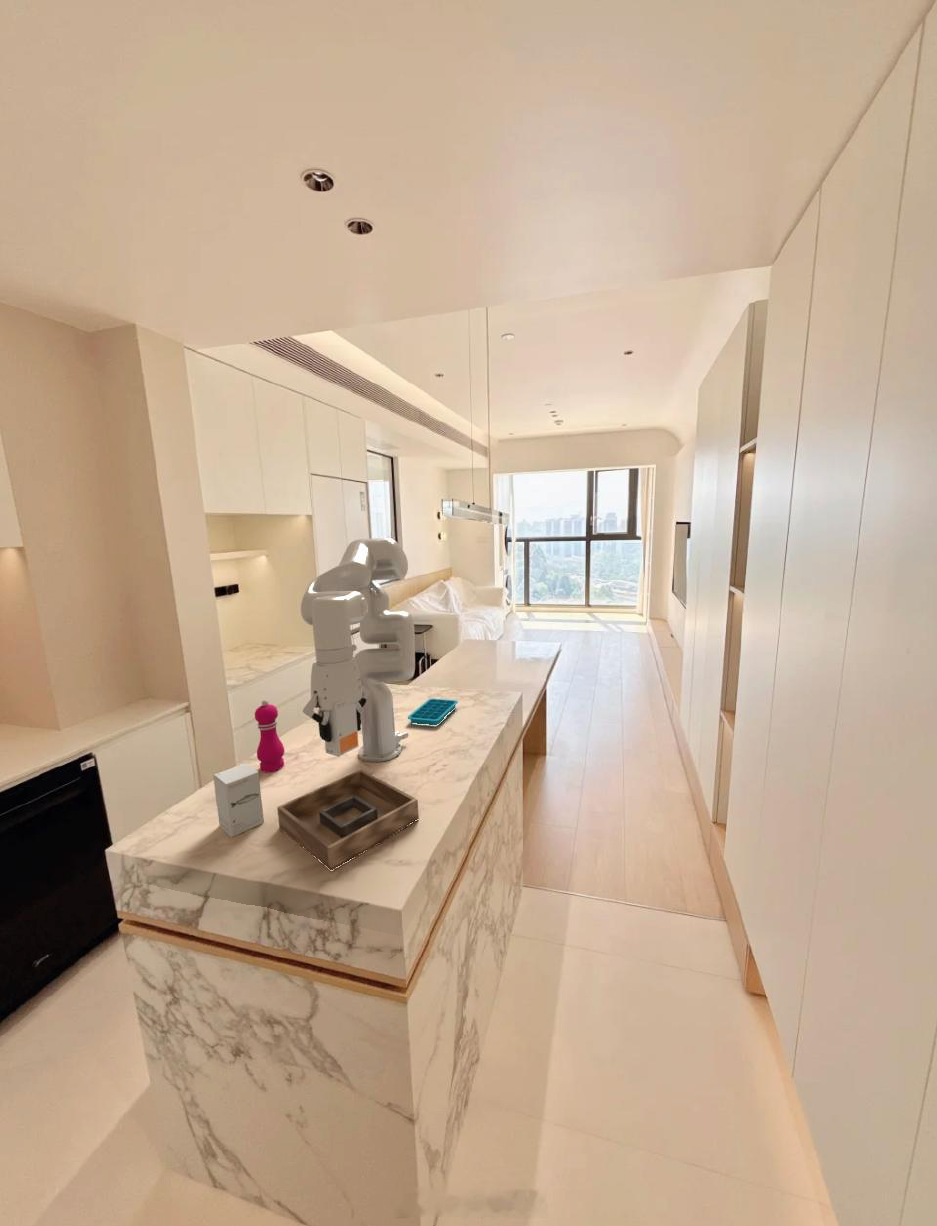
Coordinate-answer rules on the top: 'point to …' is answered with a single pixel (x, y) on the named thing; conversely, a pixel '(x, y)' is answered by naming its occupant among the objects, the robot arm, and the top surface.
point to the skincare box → (342, 729)
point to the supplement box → (238, 799)
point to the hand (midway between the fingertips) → (341, 733)
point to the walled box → (347, 817)
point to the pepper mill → (269, 738)
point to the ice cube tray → (432, 711)
